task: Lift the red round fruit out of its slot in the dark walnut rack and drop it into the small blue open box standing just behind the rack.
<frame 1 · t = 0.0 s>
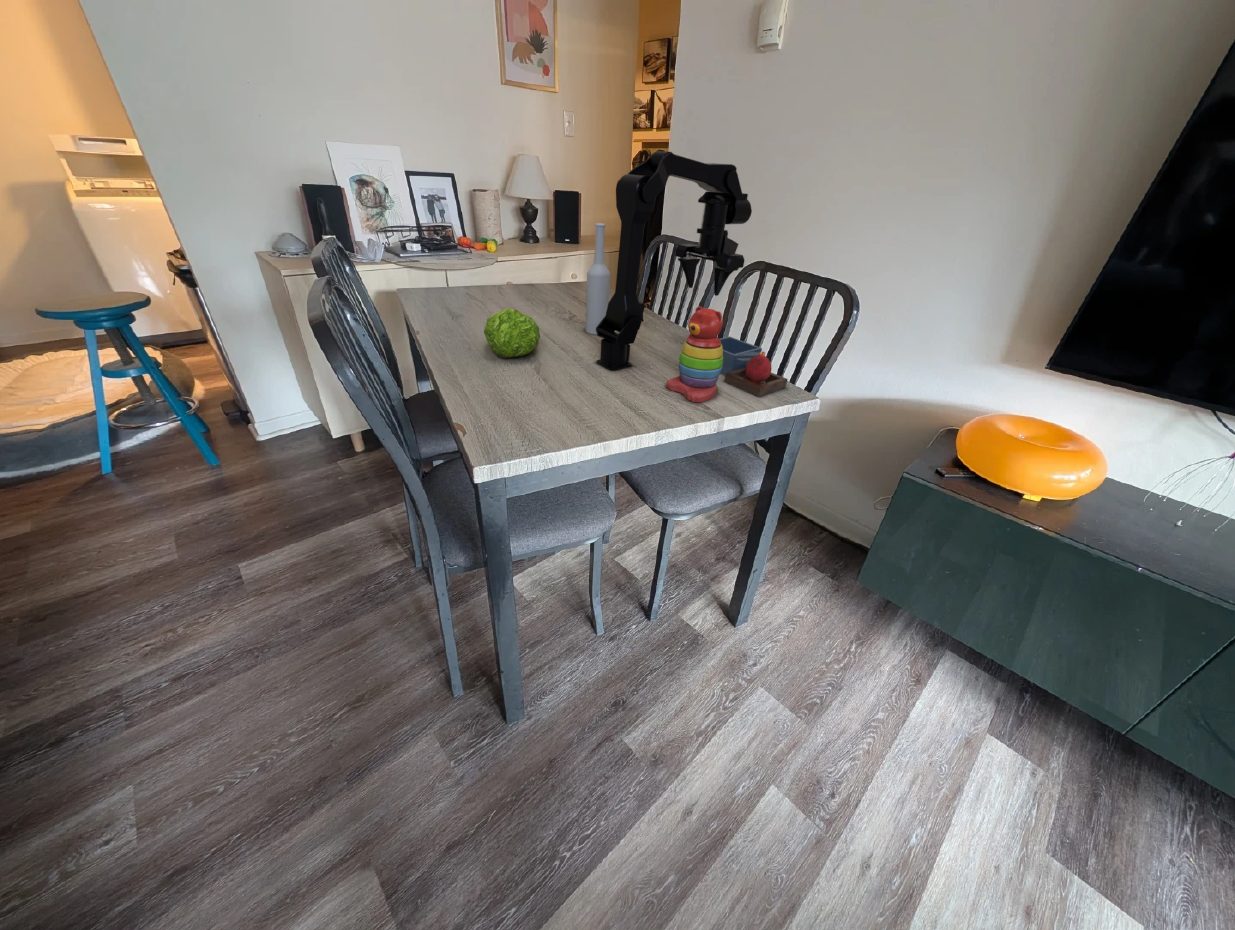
hand: (703, 291, 123), 15 cm above the table, tool pointing down, fingers open, 9 cm apart
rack: (754, 384, 110), on the table
bottle: (596, 331, 138), on the table
red round fruit: (754, 385, 110), resting in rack
blue open box: (727, 366, 119), on the table
stacking bear: (694, 391, 105), on the table
lettuce: (510, 347, 122), on the table
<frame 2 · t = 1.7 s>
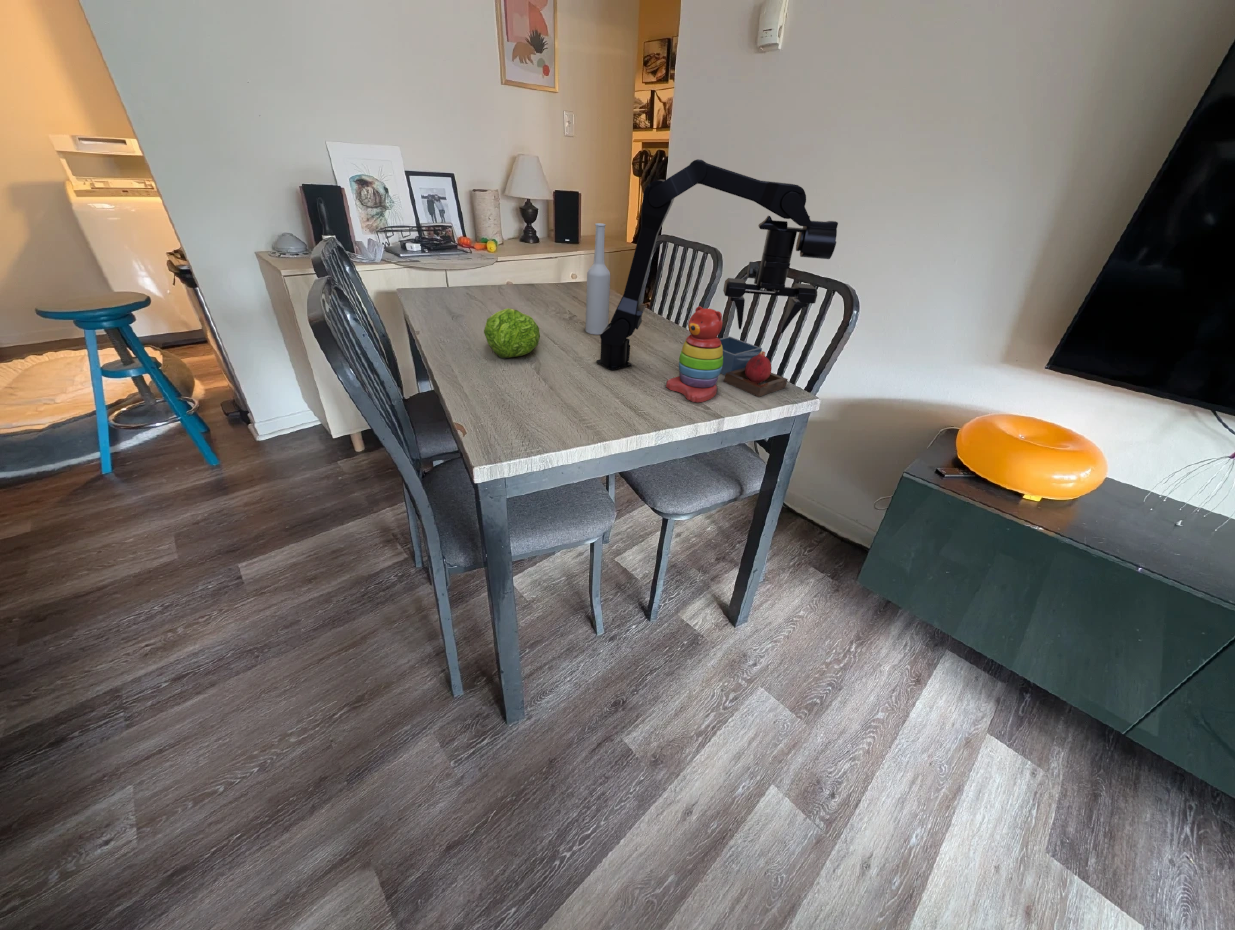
hand: (760, 330, 105), 12 cm above the table, tool pointing down, fingers open, 9 cm apart
nothing on the table moved.
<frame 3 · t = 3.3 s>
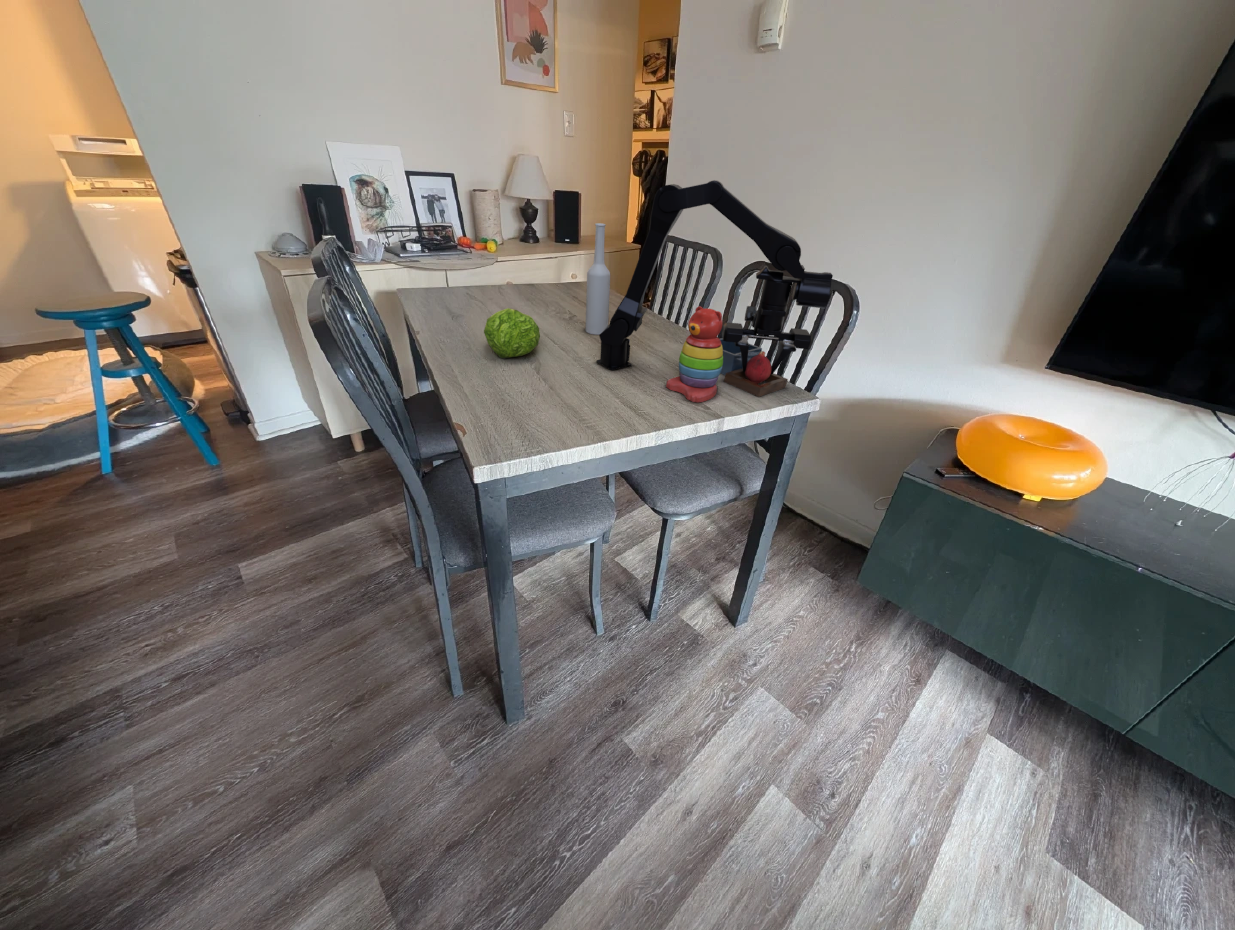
hand: (757, 372, 108), 3 cm above the table, tool pointing down, fingers closed on red round fruit, 6 cm apart
red round fruit: (754, 385, 110), resting in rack, touching gripper
everything else where it was.
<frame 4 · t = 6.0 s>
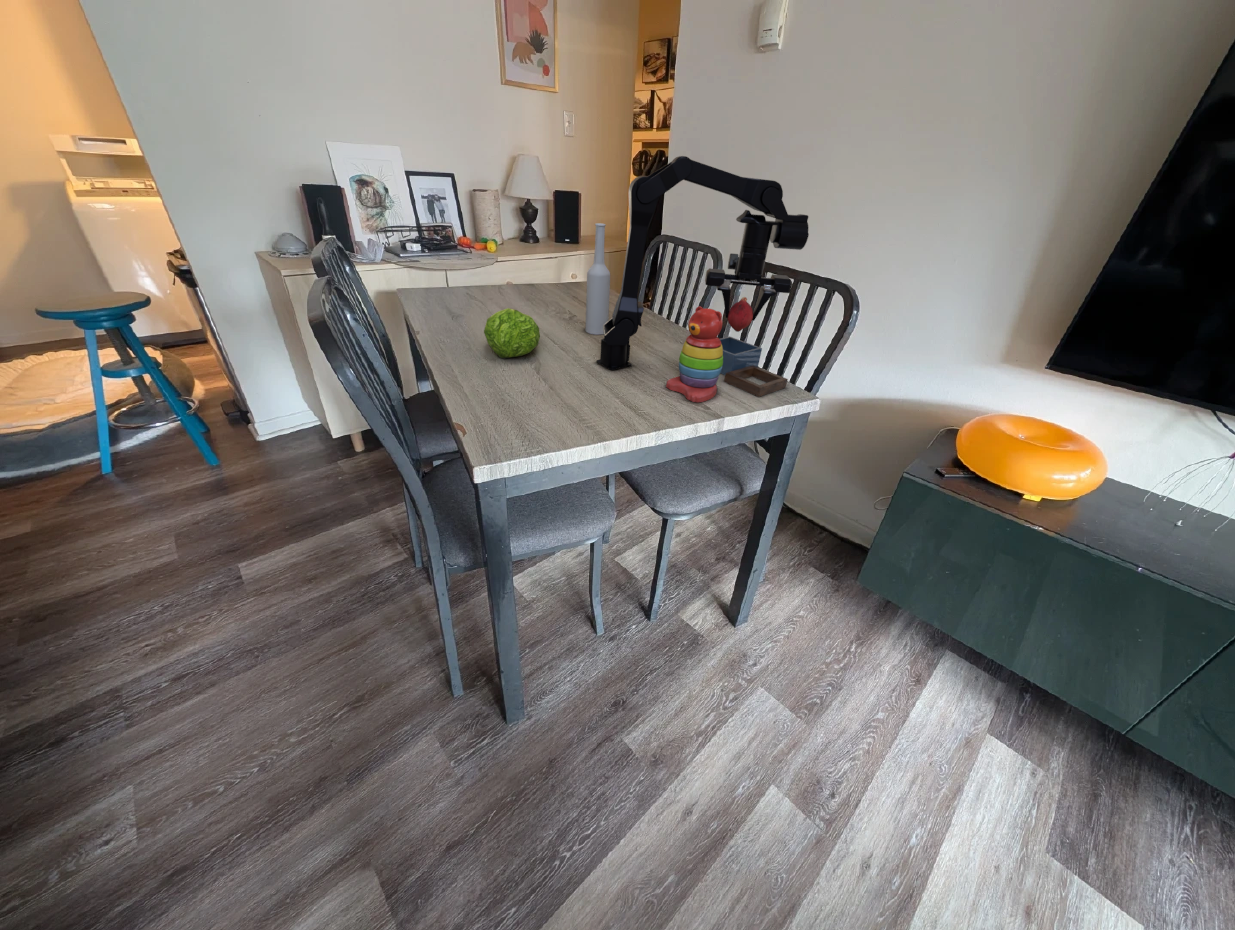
hand: (739, 318, 111), 12 cm above the table, tool pointing down, fingers closed on red round fruit, 6 cm apart
red round fruit: (736, 332, 113), point 9 cm above the table, touching gripper
everything else where it was.
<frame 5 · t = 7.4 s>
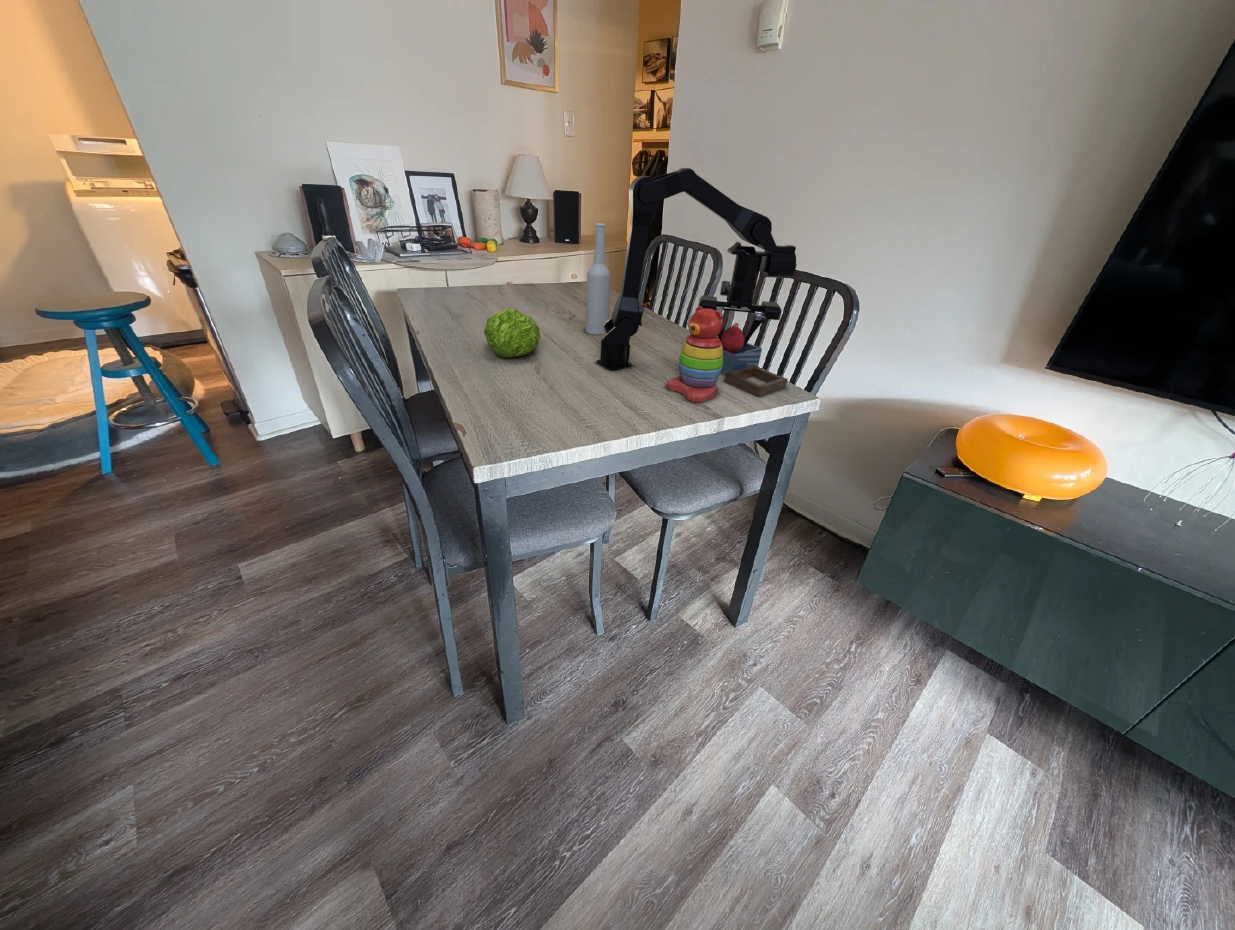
hand: (731, 343, 116), 6 cm above the table, tool pointing down, fingers closed on red round fruit, 6 cm apart
red round fruit: (729, 356, 117), point 3 cm above the table, touching gripper
everything else where it was.
when the fingers open (4 cm above the table, at t = 8.9 s): red round fruit stays where it is, resting on blue open box.
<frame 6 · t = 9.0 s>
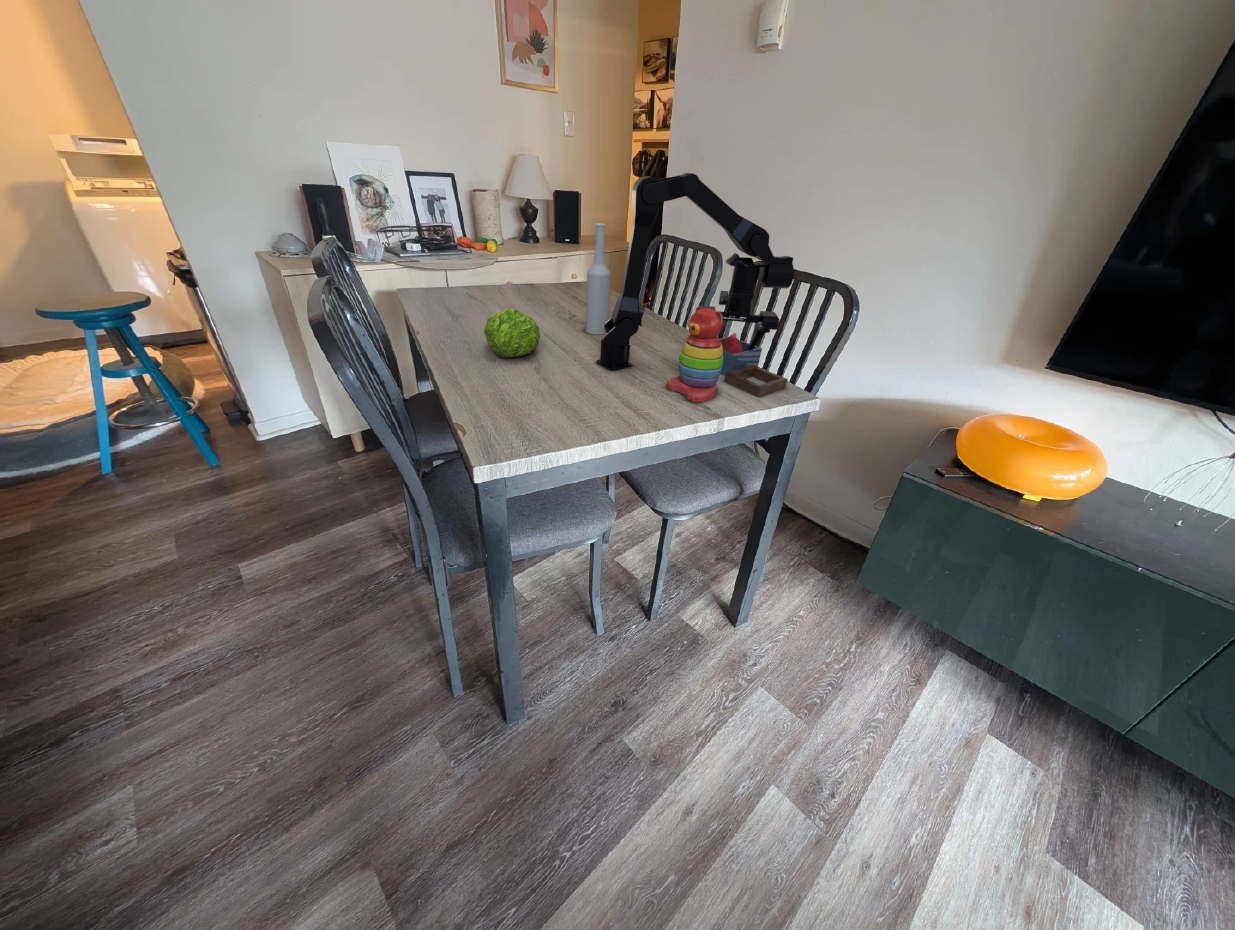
hand: (730, 352, 117), 4 cm above the table, tool pointing down, fingers open, 8 cm apart
red round fruit: (727, 365, 119), resting on blue open box
everything else where it was.
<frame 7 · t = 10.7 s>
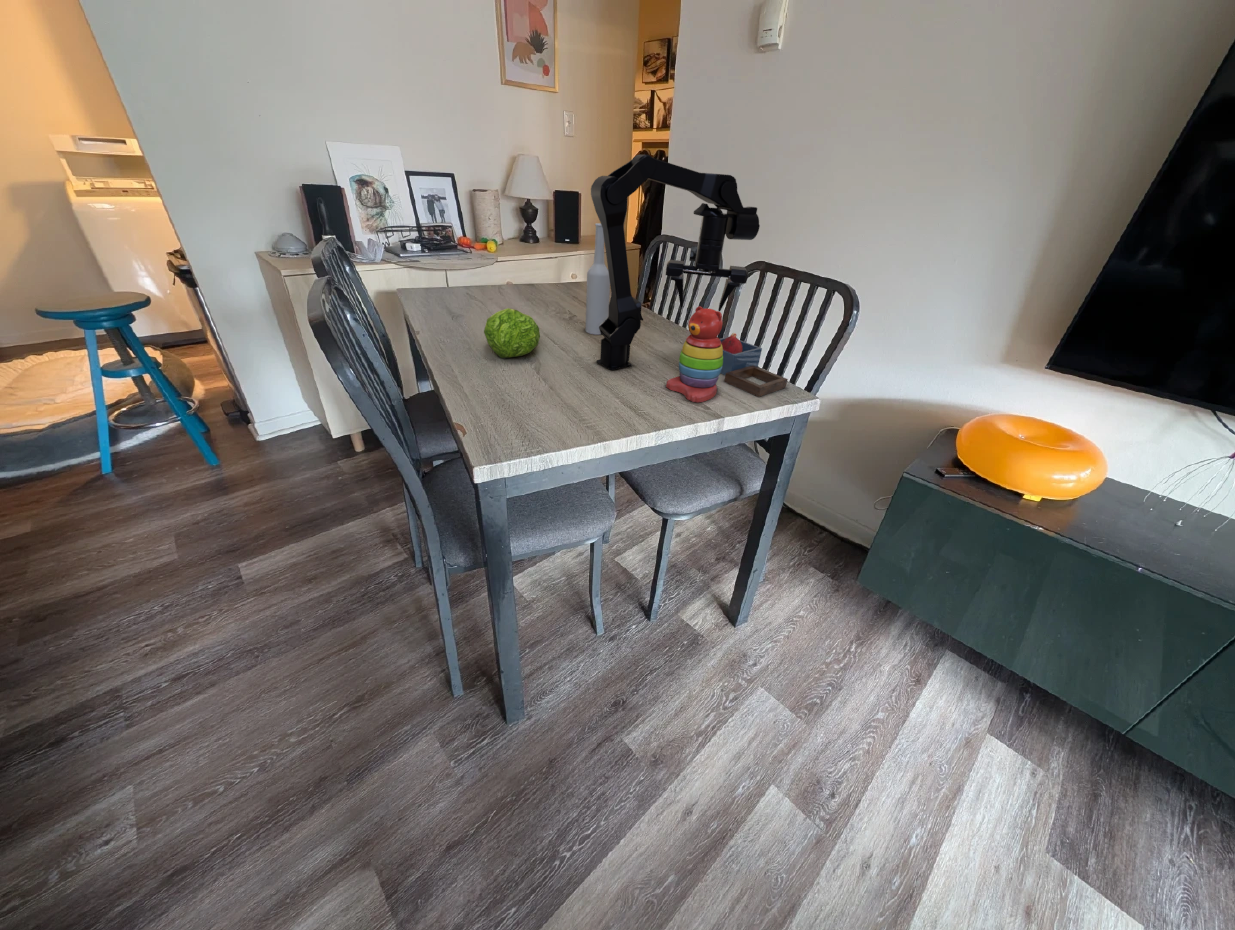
hand: (700, 308, 115), 13 cm above the table, tool pointing down, fingers open, 9 cm apart
nothing on the table moved.
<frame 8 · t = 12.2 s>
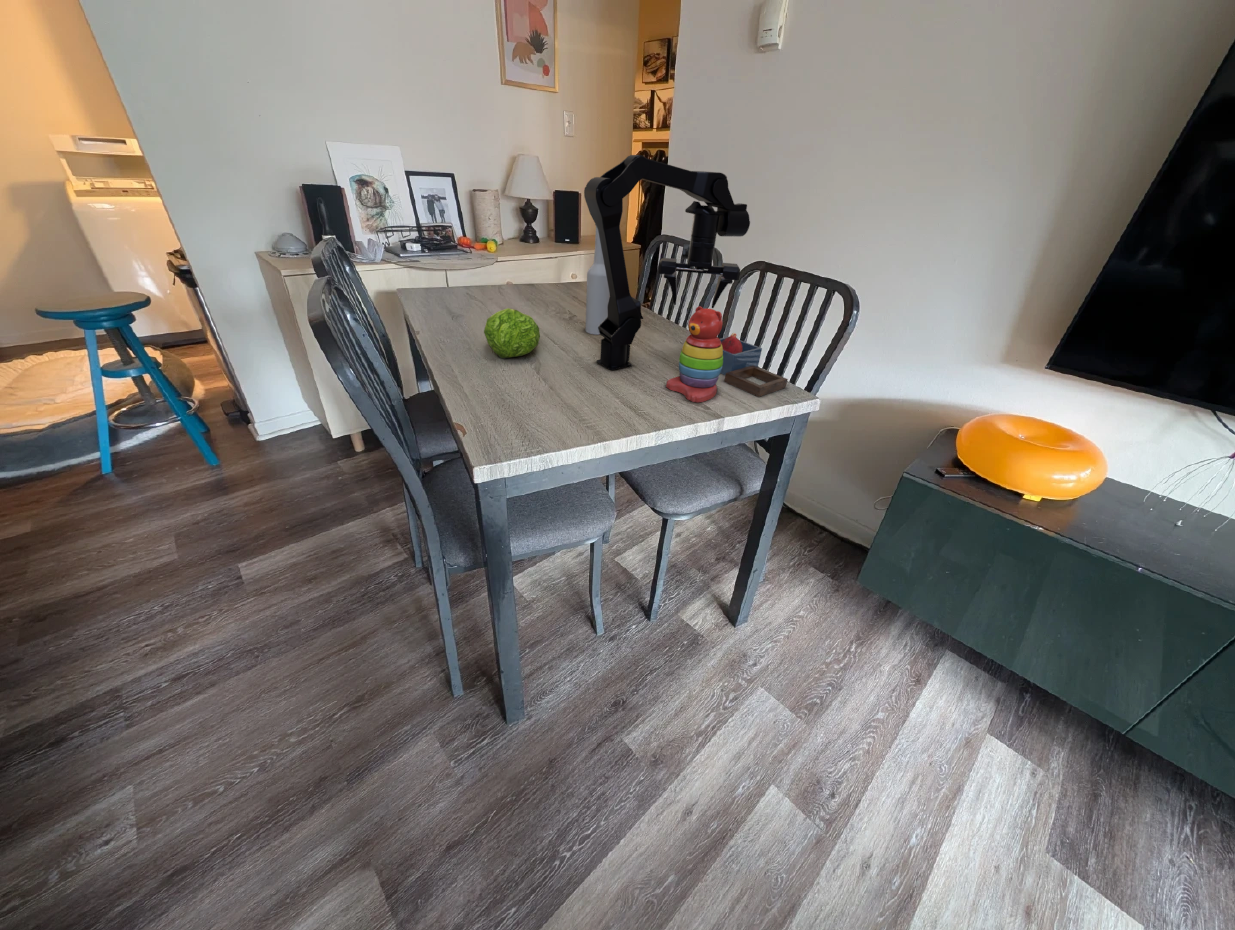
hand: (693, 306, 116), 13 cm above the table, tool pointing down, fingers open, 9 cm apart
nothing on the table moved.
at the end: red round fruit inside the target area in the blue open box (0.1 cm from its centre), point 0.3 cm above the blue open box's base; the gripper is holding nothing; red round fruit moved 11.8 cm from its start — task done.
